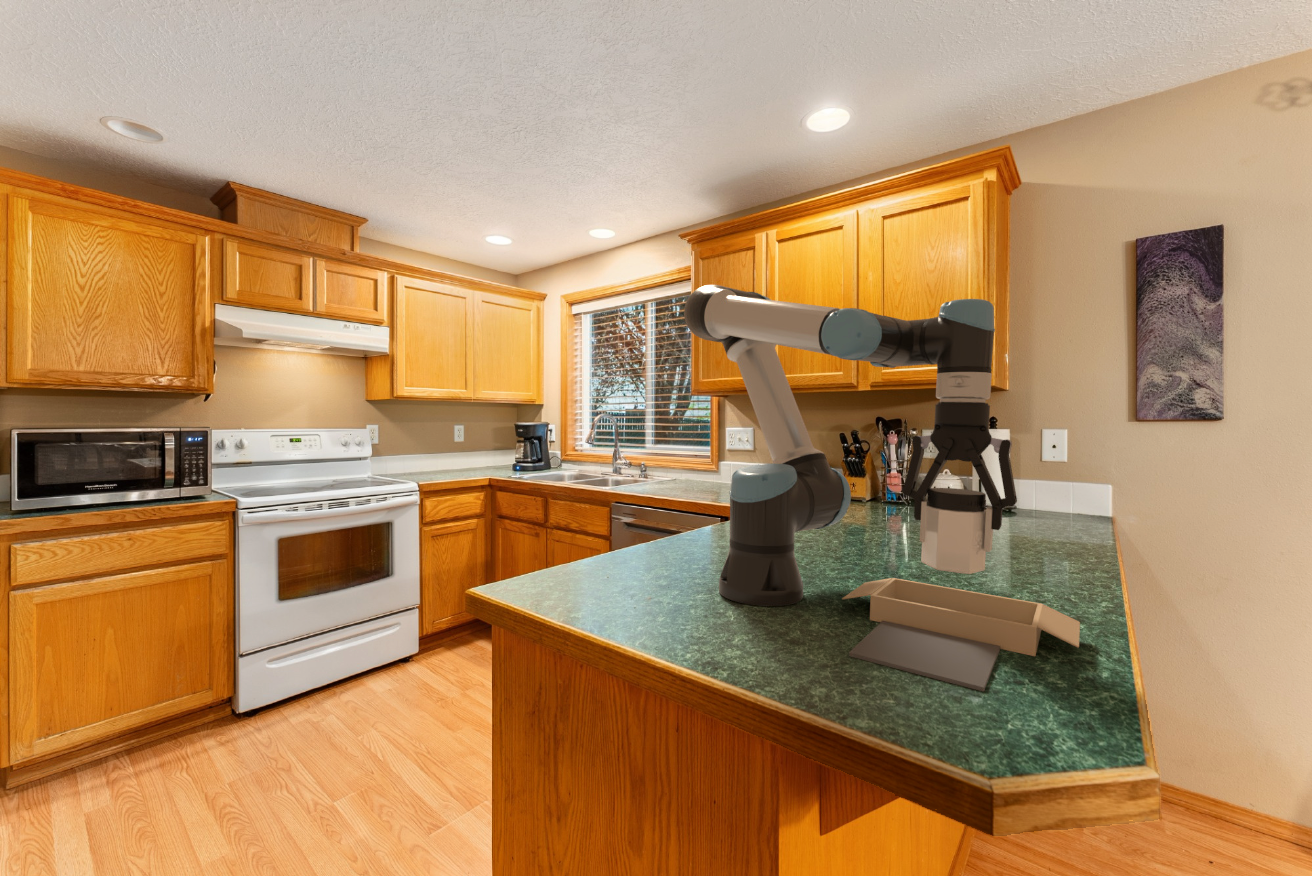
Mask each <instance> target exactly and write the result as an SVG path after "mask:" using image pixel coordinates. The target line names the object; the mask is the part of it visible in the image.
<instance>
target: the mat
mask: <svg viewBox="0 0 1312 876" xmlns="http://www.w3.org/2000/svg"><path fill="white" fill-rule="evenodd" d="M1000 651H1001V649H1000V646H997V645H993V644H988V643H984V642H979V641H974V640H970V639H965V638H961V637H956V636H952V635H947V634H942V633H938V632H933V631H929V630H924V629H919V628H915V627H910V626H906V625H901V624H897V623H892V622H887V621H882V622H879V623H878V624H877V625H876V626H875V627H874V628H873V629H872V630H871V631H870V632H869V633H868V634H867V635H866V636H865V637H863V639H862V640H861V641H859V642H858V643H857V644H856V645H855V646H854V647H853V648H852V649H851V650H850V651H849V652H848V657H851V658H855V659H860V660H863V661H865V662H866V661H867V662H870V663H873V664H877V665H881V666H885V667H889V668H892V669H897V670H900V671H904V672H907V673H912V674H916V675H919V676H924V677H927V678H930V679H935V680H938V681H942V682H946V683H950V684H953V685H957V686H960V687H965V688H968V689H971V690H976V691H980V692H985V689H986V687H987V684H988V682H989V680H990V677H991V674H992V672H993V669H994V667H995V664H996V662H997V660H998V657H999V654H1000Z"/></svg>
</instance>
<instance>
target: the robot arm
mask: <svg viewBox="0 0 1312 876" xmlns="http://www.w3.org/2000/svg"><path fill="white" fill-rule="evenodd" d="M994 310H995V308H994V305H993V303H991V302H990V301H989V300H987V299H982V298H963V299H962V298H961V299H954V300H951V301H945V302H944V303H942V304H941V305H940V308H939V313H938V316H934V317H931V318H923V319H911V320H909V319H908V320H906V319H900V318H896V317H892V316H887V315H881V314H877V313H873V312H869V311H868V310H865V309H861V308H854V307H853V308H852V307H849V308H847V307H845V308H839V307H832V306H831V307H830V306H822V305H815V304H806V303H799V302H791V301H789V302H788V301H783V300H782V301H780V300H772V299H770V298H769V297H768V296H765V295H763V294H760V293H758V292H756V291H744V290H740V289H735V288H731V287H727V286H724V285H719V284H706V285H703V286H701V287H698V288H697V289H695V290H694V291H693V292H692V293H691V294H690V295H689V296H688V298H687V300H686V301H685V305H684V310H683V315H684V316H683V317H684V321H685V324H686V326H687V328H688V329H689V331H690V332H691V333H692V334H693V335H694V336H695V337H698V338H700V339H703V340H705V341H711V342H716V343H721V344H722V346H723V349H724V351H725V354H726V357H727V359H728V360H729V361H731V362H734V363H736V364H737V368H738V369H739V373H740V374H741V378H742V380H743V382H744V386H745V388H746V391H747V394H748V397H749V400H750V402H751V404H752V408H753V411H754V413H755V416H756V419H757V422H758V425H759V427H760V429H761V432H762V435H763V438H764V439H763V440H765V444H766V447H767V450H768V452H769V455H770V459H771V460H772V463H764V464H759V463H758V464H752V465H747V466H743V467H740V468H738V469H736V470H735V471H734V472H733V474H732V476H731V482H730V489H729V549H728V553H727V556H726V559H725V562H724V564H723V567H722V571H721V572H720V576H719V581H718V592H719V594H720V595H721V596H722V597H723V598H725V599H727V600H731V601H732V602H736V603H740V604H743V605H750V606H757V607H759V606H760V607H781V606H789V605H794V604H797V603H799V602H801V601H802V600H803V598H804V582H803V579H802V576H801V573H800V569H799V565H798V562H797V559H796V556H795V539H796V538H795V534H796V533H799V532H803V531H808V530H822V529H824V528H826V527H829V526H833V525H835V524H837V523H839V522H840V521H841V520H842V519H843V518H844V517H845V515H846V514H847V513H848V510H849V507H850V505H851V499H852V494H851V487H850V483H849V482H848V479H847V478H846V477H845V476H844V474H843V473H842V472H840V471H838V470H837V469H835V468H832V467H831V466H830V463H829V461H828V458H827V456H826V454H825V452H823V451H821V450H819V449H818V448H815V447H814V445H813V442H812V439H811V437H810V435H809V432H808V429H807V427H806V424H805V422H804V419H803V417H802V414H801V411H800V409H799V406H798V404H797V402H796V399H795V396H794V394H793V391H792V389H791V386H790V383H789V381H788V379H787V376H786V373H785V370H784V368H783V366H782V363H781V361H780V357H779V355H778V353H777V350H776V346H783V347H787V348H791V349H797V350H798V349H799V350H803V351H809V352H814V353H819V354H824V355H830V356H833V357H836V358H839V359H842V360H848V361H862V362H869V363H870V364H871V366H874V367H877V368H890V369H892V368H896V367H910V366H926V365H931V366H932V365H933V366H934V365H937V366H936V368H937V369H936V387H935V398H936V399H938V400H939V402H937V403H936V404H935V407H934V426H933V427H934V428H933V431H932V432H931V434H929V435H914V436H912V439H911V442H912V450H913V451H912V454H911V459H910V461H909V466H908V470H907V474H906V477H905V481H904V484H903V485H904V486H903V489H902V493H903V495H904V496H908V497H910V498H912V500H914V508H913V510H914V511H913V512H914V514H913V517H914V520H915V521H920V528H919V543H922V542H924V534H925V515H926V506H927V499H926V498H927V496H928V489H930V488H933V484H934V483H935V482H936V480H937V478H938V477H939V474H940V473H941V471H942V470H943V468H944V466H945V464H946V463H947V461H952V462H953V461H961V462H971V464H972V467H973V468H974V470H975V472H976V474H977V476H978V478H979V480H980V483H981V485H982V488H983V489H984V491H985V492H984V493H985V494H986V497H987V498H988V500H989V503H990V504H991V506H987V507H985V510H986V520H985V540H984V551H986V553H987V552H988V553H990V552H991V551H993V550H992V549H993V540H994V539H993V535H994V530H996V531H999V530H1000V529H1001V528H1002V523H1003V522H1002V521H1003V510H1004V509H1005V508H1008V507H1013V506H1015V505H1016V504H1017V502H1018V497H1017V493H1016V486H1015V480H1014V474H1013V470H1012V463H1011V458H1010V455H1011V454H1010V453H1011V450H1012V447H1013V446H1012V445H1013V442H1012V440H1011V439H1001V438H996V437H992V434H991V433H990V414H991V412H990V411H991V405H989V403H987V401H986V400H990V398H991V392H992V376H993V374H992V372H993V371H992V370H993V369H992V365H993V349H994V337H995V331H996V329H995V311H994ZM930 443H932V444H933V446H934V447H935V449H936V450H937V451H938V453H937V455H936V456H935V458H934V461H933V463H932V464H931V466H930V467H929V468H928V471H927V473H926V475H925V476H924V479H923V481H921V483H920V485H919V487H918V488H917V489H916V485H917V482H918V477H919V475H920V470H921V466H922V464H923V463H922V462H923V460H924V459H923V458H924V454H925V449H926V450H927V448H929V444H930ZM989 446H992V447H993V450H994V452H995V453H996V454H998V462H999V463H998V464H999V468H1000V473H1001V474H1000V475H1001V481H1002V487H1003V493H1004V498H1002V497H1001V496H1000V494H999V491H998V489H997V487H996V485H995V482H994V480H993V478H992V476H991V473H990V472H989V469H988V468H987V465H986V462H985V459H984V457H983V452H985V450H987V448H988V447H989Z"/></svg>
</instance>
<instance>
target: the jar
mask: <svg viewBox="0 0 1312 876" xmlns="http://www.w3.org/2000/svg"><path fill="white" fill-rule="evenodd" d="M986 497H987V494H986V492H983V491H978V490H972V489H964V488H952V487H951V488H950V487H931V488H930V489H928V494H927V496H926V498H927V499H926V500H927V506H926V515H925V534H924V542H921V555H920V560H921V563H922V564H924V565H927V566H928V567H931V568H932V569H935V570H936V571H941V572H950V573H957V574H964V575H971V574H975V573H979V572H983V571H985V570H986V553H987V552H986V551H984V540H985V520H986V504H987V499H986Z"/></svg>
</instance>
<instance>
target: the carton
mask: <svg viewBox="0 0 1312 876" xmlns="http://www.w3.org/2000/svg"><path fill="white" fill-rule="evenodd" d="M867 596H870V601H869V602H870V606H869V620H870V621H874V622H878V623H881V622H882V621H887V622H892V623H897V624H901V625H906V626H910V627H915V628H919V629H924V630H929V631H933V632H938V633H942V634H947V635H952V636H956V637H961V638H965V639H970V640H974V641H979V642H984V643H988V644H993V645H997V646H1000V650H1004V651H1008V652H1013V653H1019V654H1023V655H1028V656H1032V657H1036V654H1037V652H1038V647H1039V642H1040V638H1041V633H1042V631H1044V632H1045V633H1047V634H1050V635H1052V636H1054V637H1056V638H1057V639H1060V640H1061V641H1064V642H1066V643H1068V644H1070V645H1072V646H1073V647H1075V648H1077V649H1079V647H1080V632H1081V631H1080V630H1081V629H1080V628H1081V621H1079V620H1076V619H1075V618H1073V617H1070V616H1068V615H1066V614H1064V613H1062V612H1060V611H1058V610H1056V609H1054V608H1052V607H1049V606H1047V605H1045V604H1043V603H1040V602H1034V601H1029V600H1023V599H1017V598H1012V597H1011V598H1010V597H1005V596H999V595H994V594H988V593H983V592H982V593H981V592H977V591H971V590H964V589H960V588H953V587H948V586H942V585H936V584H932V583H931V584H930V583H924V582H920V581H912V580H906V579H901V578H896V577H892V578H891V577H890V578H884V579H879V580H872V581H865V582H863V583H862V584H861V585H860V586H858V587H856V588H855V589H854V590H852V591H850V592H849V593H848V594H846V595H845V596H844V597H842V600H848V599H853V598H859V597H860V598H861V597H862V598H863V597H867Z"/></svg>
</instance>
